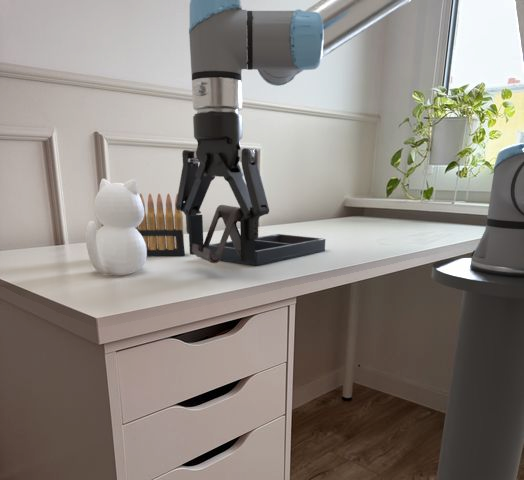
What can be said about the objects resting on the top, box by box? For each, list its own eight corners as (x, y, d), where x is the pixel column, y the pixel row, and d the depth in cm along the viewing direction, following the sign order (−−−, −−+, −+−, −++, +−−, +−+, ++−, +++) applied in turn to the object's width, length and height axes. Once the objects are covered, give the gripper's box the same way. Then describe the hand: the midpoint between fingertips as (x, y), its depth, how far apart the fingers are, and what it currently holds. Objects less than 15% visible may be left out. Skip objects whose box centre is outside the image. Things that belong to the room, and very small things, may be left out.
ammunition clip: (130, 256, 103) (126, 193, 99) (131, 254, 105) (127, 193, 101) (184, 255, 104) (182, 193, 100) (184, 254, 106) (182, 193, 102)
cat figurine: (160, 268, 91) (155, 178, 86) (118, 282, 80) (109, 180, 75) (117, 265, 94) (110, 177, 89) (70, 277, 82) (59, 179, 78)
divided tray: (324, 250, 113) (325, 238, 112) (256, 265, 95) (256, 251, 94) (278, 245, 120) (278, 233, 119) (206, 258, 102) (205, 244, 101)
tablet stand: (191, 256, 89) (189, 205, 86) (234, 253, 92) (233, 204, 89) (209, 264, 81) (207, 209, 78) (254, 260, 84) (254, 207, 82)
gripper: (148, 115, 83) (157, 253, 90) (263, 105, 70) (263, 267, 77) (181, 118, 89) (188, 248, 96) (294, 109, 75) (291, 260, 83)
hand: (221, 256), depth 87 cm, fingers closed on tablet stand, 11 cm apart
